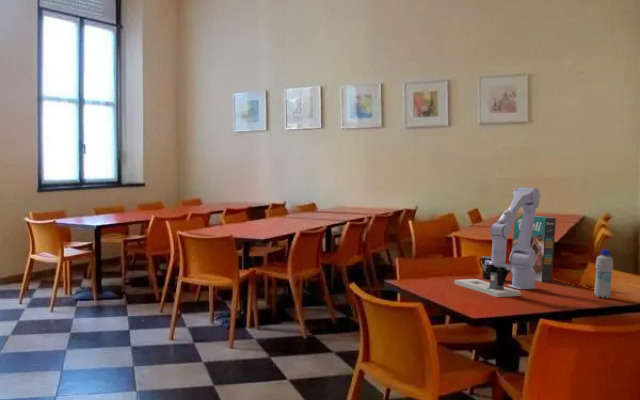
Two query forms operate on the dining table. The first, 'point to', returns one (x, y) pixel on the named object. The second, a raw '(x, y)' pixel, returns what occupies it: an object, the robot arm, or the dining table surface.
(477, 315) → the dining table surface
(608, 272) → the bottle
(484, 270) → the coffee mug
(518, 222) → the cake mix box
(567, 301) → the dining table surface
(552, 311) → the dining table surface
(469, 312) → the dining table surface
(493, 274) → the plug
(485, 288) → the panel
